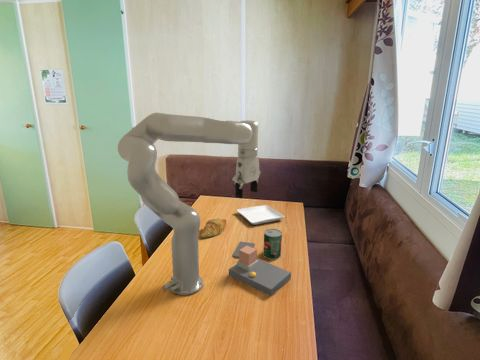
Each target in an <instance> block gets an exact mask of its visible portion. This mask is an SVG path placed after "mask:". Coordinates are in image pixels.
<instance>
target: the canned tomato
mask: <svg viewBox="0 0 480 360" xmlns="http://www.w3.org/2000/svg"><path fill="white" fill-rule="evenodd" d="M282 236H283V232H282V231H281V230H280V229H278V228H277V229H276V228H268V229H265V230H264V231H263V257H264V258H266V259H268V260H278V259H280V258H281V256H282V254H281V253H282V239H283V237H282Z"/></svg>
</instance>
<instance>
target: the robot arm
mask: <svg viewBox="0 0 480 360" xmlns="http://www.w3.org/2000/svg"><path fill="white" fill-rule="evenodd" d="M258 139H259V123H258V122H257V121H256V120H240V121H236V120H235V121H234V120H218V119H213V118H210V117H203V116H196V115H195V116H193V115H184V114H183V115H182V114H181V115H179V114H171V113H170V114H169V113H163V112H152V113H150V114H149V115H148V116H146V117H144V118H143V119H142V120H140V122H139V123H137V124H136V125H135V126H134V127H133V128H131V129H130V130H129V131H128V132H127V133H126V134H124V135H123V136H122V137H121V138H120V140H119V141H118V143H117V152H118V155H119V156H120V157H121V158H122V159H123V160H125V161H127V162H128V163H127V172H126V173H127V179H128V183H129V185H130V186H131V188H133V190H134V191H135V192H136V193H137V194H138V195H139V196H140V199H141V201H142V203H143V204H144V205H145V206H146V207H147V208H148V209H149V210H150V211H151V212H153V213H154V214H155V215H156V216H157V217H159V219H160V220H162V221H163V222H164V223H165V224H167V225H168V226H169V227H171V228H172V229H173V234H172V238H171V258H172V259H171V260H172V262H171V263H172V276H171V277H170V280H169V281H168V282H167V283H166V284H165V285H162V290H163V292H166V291H168V290H169V291H170V292H171V293H174V294H175V295H176V294H177V295H180V296H188V295H193V294H196V293H198V292H199V291H200V290H202V289H203V286H204V279H203V277H202V276H201V275H200V269H199V268H200V264H199V260H200V258H199V232H200V226H201V217H200V213H199V212H197V210H195V209H194V208H193V207H192V206H190V205H188V204H186V203H185V202H183V201H181V200H180V198H179V195H178V194H177V192H176V191H175V190H174V189H173V188H172V187H171V186H170V185H169V184H168V183H167V182H165V180H164V179H163V178H162V177H161V176H160V175H159V174H158V172H157V170H156V163H157V158H158V151H157V147H156V146H155V145H154V144H155V143H156V142H157V141H158V140H160V141H164V142H174V143H175V142H177V143H181V142H182V143H204V144H225V145H237V148H238V149H237V159H236V165H235V166H236V167H235V175H234V176H233V177H232V178H231V181H232V185H233V186H234V188H235V195H234V196H235V198H238V199H243V197H244V195H243V194H244V191H243V190H244V188H243V186H244V184H249V183H250V192H253V193H258V189H259V188H258V187H259V186H258V185H259V180H260V177H261V173H262V170H260V160H259V155H258V144H259V143H258V141H259V140H258Z"/></svg>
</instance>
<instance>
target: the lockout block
mask: <svg viewBox="0 0 480 360" xmlns="http://www.w3.org/2000/svg"><path fill="white" fill-rule="evenodd" d="M257 251H258V249H256V248H255V247H254V248H252V247H249V246H245V247H243V248H242V249H240V250H239V258H238V260H239V262H242V263H244V264H246V265H248V266H249V265H251V264H252V263H254V262H255V261H256V258H257Z"/></svg>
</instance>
